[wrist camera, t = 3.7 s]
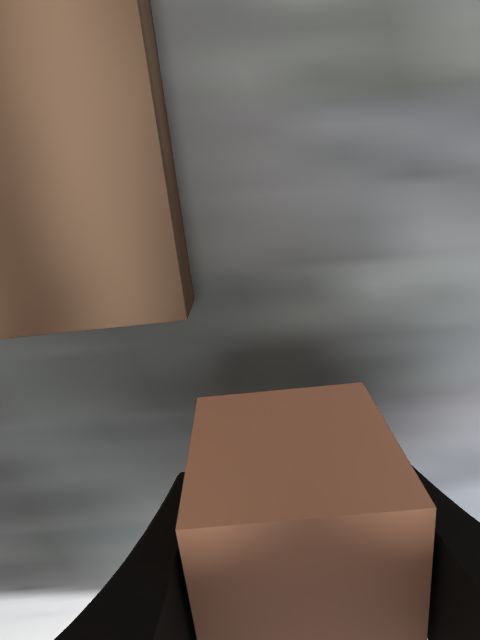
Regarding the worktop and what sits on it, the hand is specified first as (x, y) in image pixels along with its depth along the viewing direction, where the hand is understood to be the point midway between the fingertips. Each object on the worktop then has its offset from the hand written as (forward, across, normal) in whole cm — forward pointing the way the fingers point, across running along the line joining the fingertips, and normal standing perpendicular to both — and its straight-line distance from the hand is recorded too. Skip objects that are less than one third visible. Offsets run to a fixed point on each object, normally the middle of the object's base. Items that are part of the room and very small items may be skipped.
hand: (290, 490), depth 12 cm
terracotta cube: (+2, 0, 0) cm, 2 cm away
